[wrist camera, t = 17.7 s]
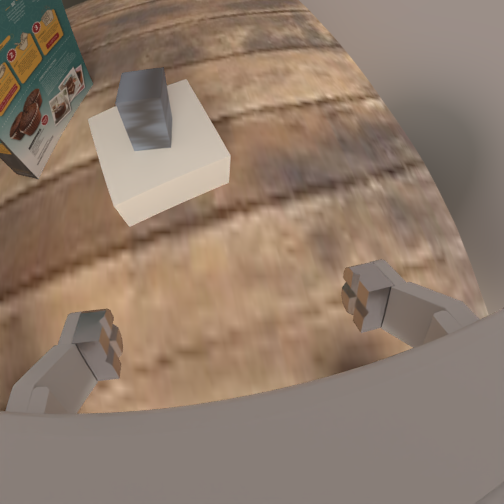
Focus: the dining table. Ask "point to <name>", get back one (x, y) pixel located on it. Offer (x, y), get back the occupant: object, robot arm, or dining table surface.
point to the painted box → (161, 159)
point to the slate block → (145, 109)
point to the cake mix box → (37, 81)
